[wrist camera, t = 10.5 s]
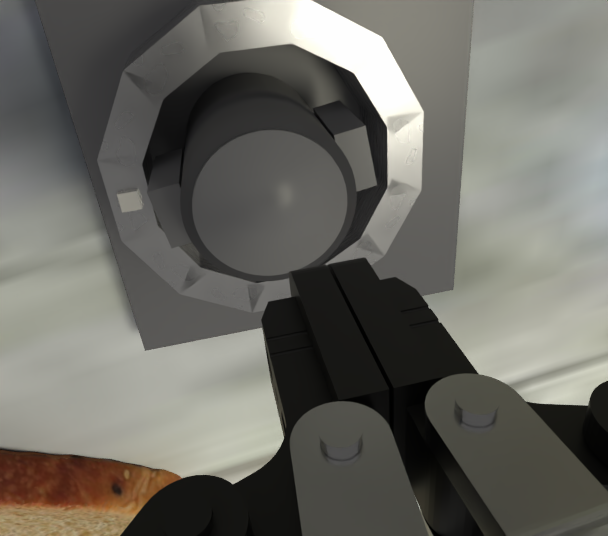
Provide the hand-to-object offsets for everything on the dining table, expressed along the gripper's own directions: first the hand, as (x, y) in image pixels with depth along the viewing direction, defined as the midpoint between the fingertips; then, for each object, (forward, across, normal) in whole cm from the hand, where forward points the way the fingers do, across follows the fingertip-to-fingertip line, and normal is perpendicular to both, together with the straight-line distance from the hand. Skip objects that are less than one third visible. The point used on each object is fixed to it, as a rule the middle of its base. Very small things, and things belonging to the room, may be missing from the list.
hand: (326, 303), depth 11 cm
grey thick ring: (+10, 0, 0) cm, 10 cm away
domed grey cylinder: (+10, 0, 0) cm, 10 cm away
